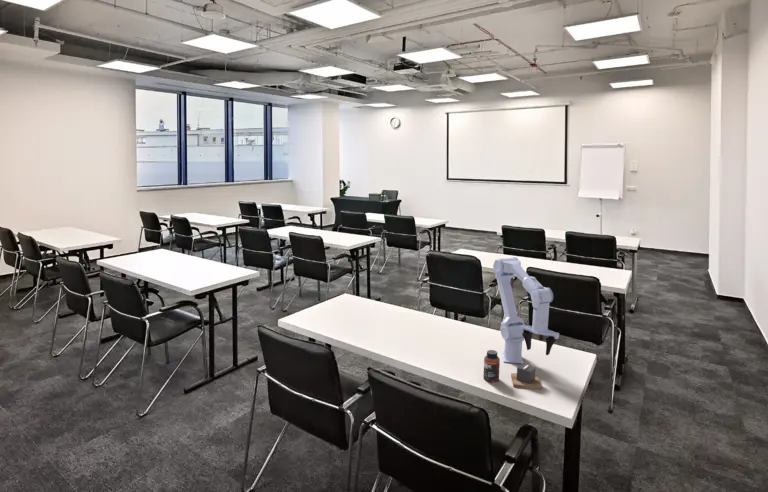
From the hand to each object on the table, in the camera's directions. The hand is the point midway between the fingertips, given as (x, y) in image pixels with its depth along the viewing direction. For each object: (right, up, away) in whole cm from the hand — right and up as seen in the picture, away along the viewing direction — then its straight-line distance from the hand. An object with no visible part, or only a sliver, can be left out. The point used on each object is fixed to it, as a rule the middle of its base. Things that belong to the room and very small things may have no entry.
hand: (538, 351), depth 184 cm
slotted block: (-6, -10, -4) cm, 12 cm away
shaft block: (-6, -11, -4) cm, 13 cm away
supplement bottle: (-19, -10, -2) cm, 22 cm away
